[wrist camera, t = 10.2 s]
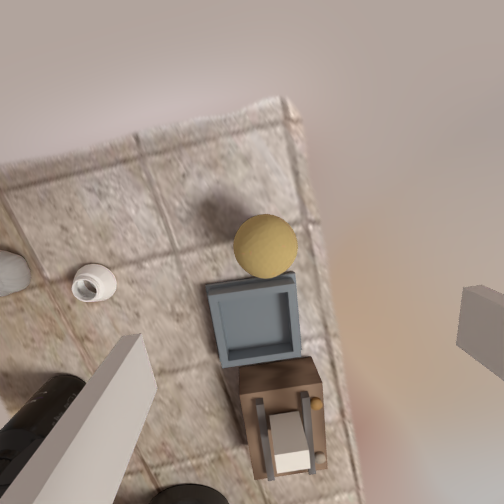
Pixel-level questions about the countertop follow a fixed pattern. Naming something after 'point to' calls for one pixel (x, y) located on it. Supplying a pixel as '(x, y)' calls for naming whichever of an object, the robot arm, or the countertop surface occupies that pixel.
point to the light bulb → (265, 246)
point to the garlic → (13, 273)
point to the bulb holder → (255, 319)
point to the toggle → (289, 442)
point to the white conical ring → (94, 283)
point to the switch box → (282, 410)
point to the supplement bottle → (38, 416)
